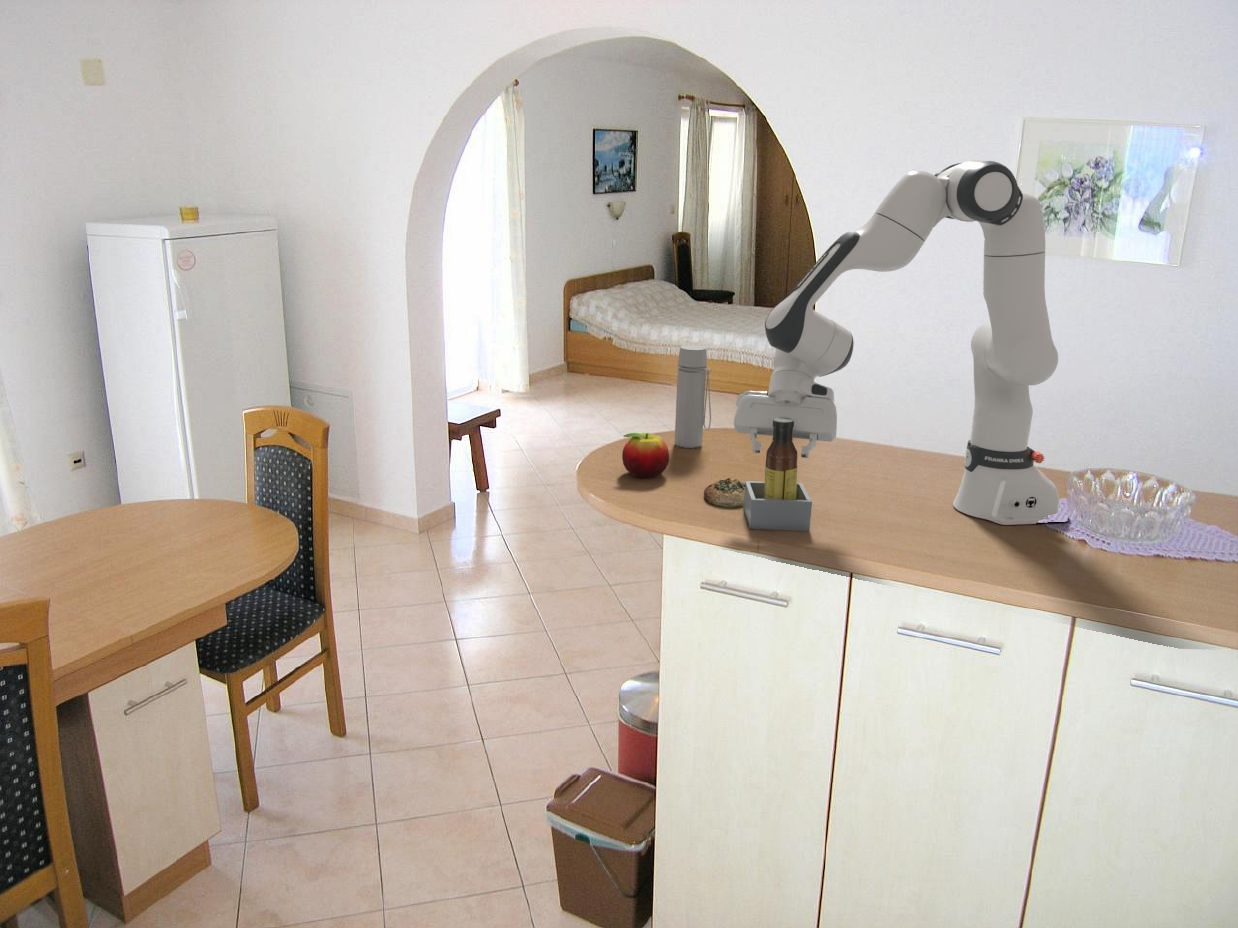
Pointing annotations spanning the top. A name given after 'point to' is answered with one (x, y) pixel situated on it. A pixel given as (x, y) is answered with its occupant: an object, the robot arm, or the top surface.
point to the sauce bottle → (781, 462)
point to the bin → (776, 509)
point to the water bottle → (691, 396)
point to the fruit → (645, 455)
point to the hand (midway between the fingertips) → (780, 453)
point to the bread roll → (726, 493)
